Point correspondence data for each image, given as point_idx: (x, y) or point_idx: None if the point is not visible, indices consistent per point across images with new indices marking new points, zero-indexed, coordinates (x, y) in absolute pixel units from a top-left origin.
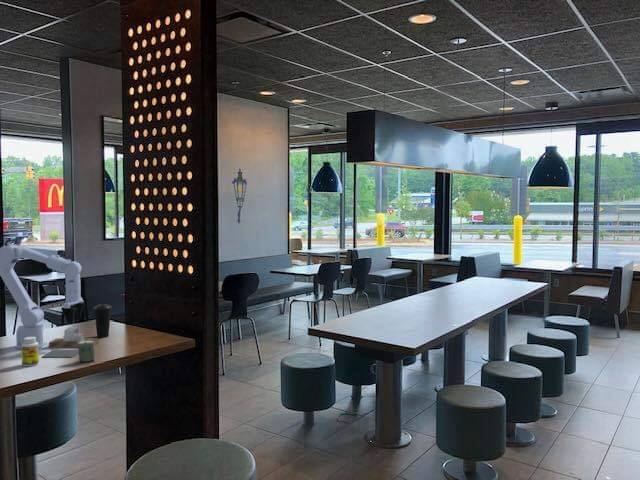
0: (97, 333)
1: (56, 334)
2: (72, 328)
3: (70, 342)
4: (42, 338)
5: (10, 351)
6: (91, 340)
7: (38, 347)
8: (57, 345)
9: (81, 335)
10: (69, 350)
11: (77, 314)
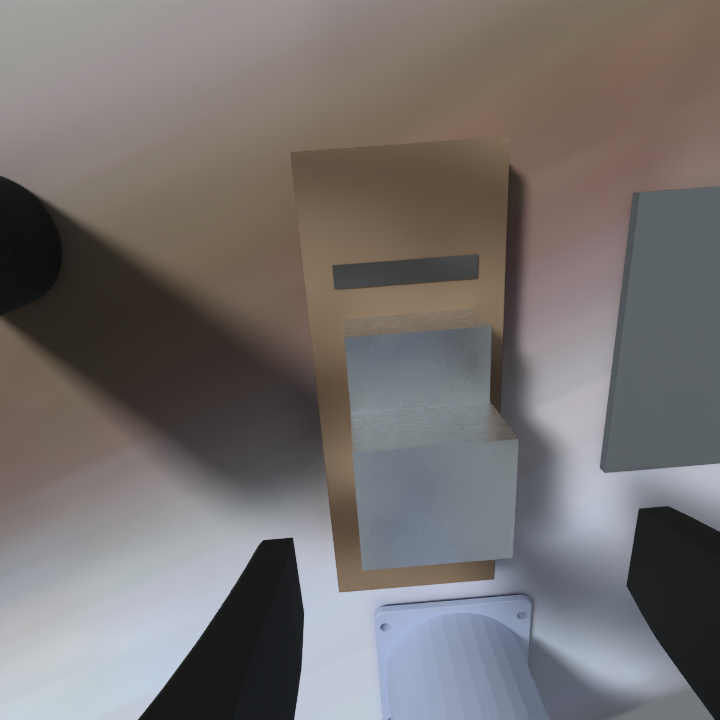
0: (25, 293)
1: (63, 677)
2: (403, 509)
3: (496, 399)
4: (458, 665)
5: (582, 709)
6: (401, 200)
7: (529, 601)
8: None
9: (446, 328)
10: (645, 320)
11: (272, 692)
